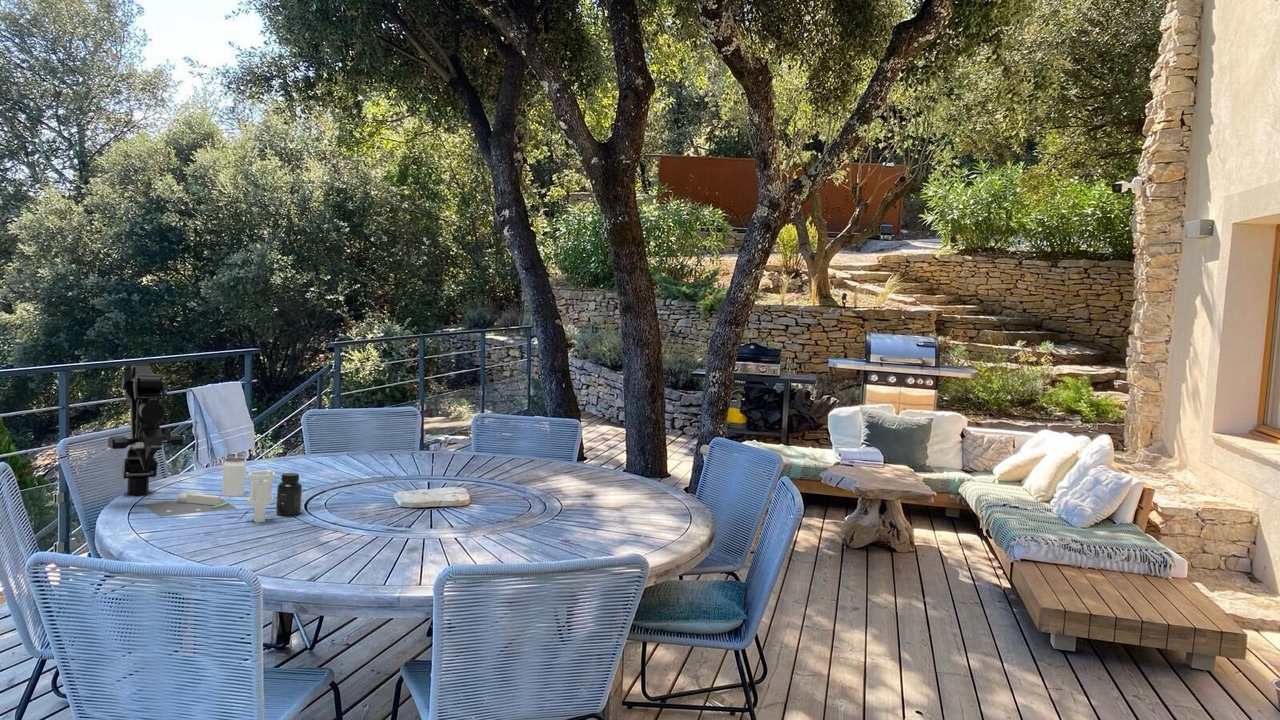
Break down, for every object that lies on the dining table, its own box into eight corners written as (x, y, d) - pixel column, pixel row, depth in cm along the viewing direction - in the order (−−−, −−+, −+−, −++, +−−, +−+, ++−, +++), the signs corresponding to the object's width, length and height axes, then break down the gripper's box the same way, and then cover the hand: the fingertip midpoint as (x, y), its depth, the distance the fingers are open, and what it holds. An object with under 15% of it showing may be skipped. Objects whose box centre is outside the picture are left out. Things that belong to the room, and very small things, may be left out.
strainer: (259, 525, 242) (262, 472, 241) (240, 521, 244) (242, 469, 243) (278, 520, 248) (280, 469, 247) (259, 516, 251) (261, 466, 250)
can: (235, 500, 268) (237, 462, 267) (217, 497, 269) (219, 460, 268) (248, 495, 274) (250, 459, 273) (231, 493, 275) (232, 456, 275)
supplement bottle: (270, 514, 254) (272, 474, 253) (288, 509, 260) (290, 471, 260) (288, 517, 252) (290, 477, 251) (305, 513, 258) (307, 474, 257)
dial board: (142, 507, 251) (143, 502, 251) (218, 500, 266) (218, 495, 265) (159, 519, 239) (159, 514, 239) (237, 511, 254) (237, 506, 254)
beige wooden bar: (175, 502, 255) (175, 494, 255) (182, 499, 258) (182, 492, 258) (215, 506, 254) (215, 498, 254) (221, 503, 257) (221, 496, 257)
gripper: (118, 422, 238) (116, 477, 239) (190, 420, 251) (188, 472, 252) (108, 417, 246) (106, 470, 247) (178, 415, 259) (176, 465, 260)
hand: (145, 470), depth 251 cm, fingers closed
